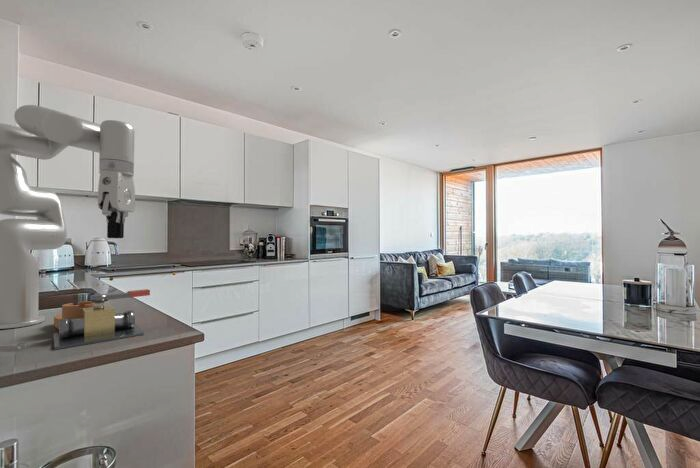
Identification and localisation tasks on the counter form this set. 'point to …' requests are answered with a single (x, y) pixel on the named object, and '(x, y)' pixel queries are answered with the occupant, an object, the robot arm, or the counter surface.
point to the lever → (119, 295)
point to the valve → (96, 327)
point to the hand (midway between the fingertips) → (115, 237)
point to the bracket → (72, 311)
